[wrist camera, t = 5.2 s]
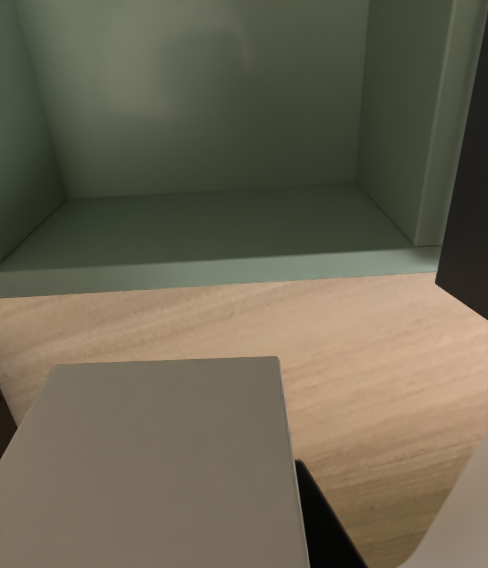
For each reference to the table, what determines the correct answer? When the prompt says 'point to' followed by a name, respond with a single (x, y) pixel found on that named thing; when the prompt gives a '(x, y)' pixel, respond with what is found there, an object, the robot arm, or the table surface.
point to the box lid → (470, 204)
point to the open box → (228, 139)
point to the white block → (154, 469)
